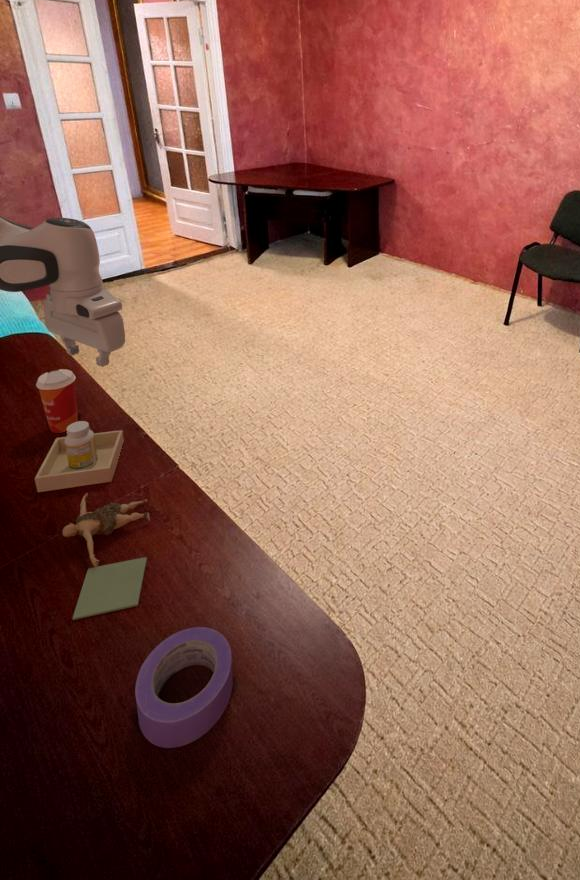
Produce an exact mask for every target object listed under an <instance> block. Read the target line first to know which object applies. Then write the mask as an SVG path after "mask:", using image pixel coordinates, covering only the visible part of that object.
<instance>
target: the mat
mask: <svg viewBox="0 0 580 880" xmlns="http://www.w3.org/2000/svg"><path fill="white" fill-rule="evenodd" d="M147 560H148V557H147V556H144V557H139V558H133V559H130V560H123V561H119V562H114V563H113V562H112V563H108V564H103V565H98V566H96V567H95V566H93V567H88V568H87V571H86V574H85V578H84V580H83V585H82V587H81V590H80V593H79V596H78V599H77V603H76V606H75V609H74V612H73V614H72V621H77V620H80V619H85V618H89V617H94V616H98V615H103V614H106V613H107V614H108V613H111V612H112V613H113V612H116V611H120V610H125V609H129V608H133V607H138V606H139V604H140V603H139V602H140V599H141V598H140V597H141V593H142V592H141V591H142V586H143V583H144V576H145V571H146V567H147V562H148V561H147Z"/></svg>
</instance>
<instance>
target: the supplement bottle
mask: <svg viewBox="0 0 580 880" xmlns="http://www.w3.org/2000/svg"><path fill="white" fill-rule="evenodd" d="M90 428H91V427H90V423H89V422H88V421H86V420H78V422H74V423H72V424H70V425H69V426H68V427H67V429H66V430H67V432H66V434H67V435H65V437H66V438H65V448H66V453H67V459H68V464H69V468H70V469H71V470H72V471H79V470H86V469H89V468H91V467H92V466H94V465H95V464H96V462H97V459H98V458H97V451H96V444H95V437H94V433H95V432H94V431H93V430H92V429H90Z"/></svg>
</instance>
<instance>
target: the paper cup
mask: <svg viewBox="0 0 580 880" xmlns="http://www.w3.org/2000/svg"><path fill="white" fill-rule="evenodd" d="M76 379H77V376H76V374H74V372H73V371H72V370H71V369H65V368H60V369H57V370H51V371H50V372H48V371H47V372H45V373H42V374H41V375H39V377H37V381H36V383H35V387H36V388H37V389H38V391H39V395H40V399H41V402H42V407H43V411H44V414H45V417H46V420H47V424H48V428H49V430H51V431H52V432H54V433H62V432H65V431H67V430H66V429H67V427H68V426H69V425H70V424H72V423H74V422H78V421H79V417H78V416H79V415H78V406H77V405H78V403H77V393H76V381H75V380H76ZM51 431H50V432H51ZM52 432H51V433H52ZM54 433H53V434H54ZM62 434H63V433H62Z"/></svg>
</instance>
